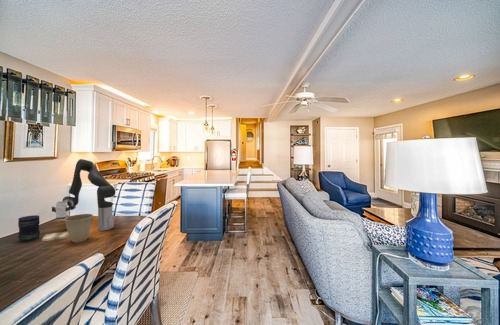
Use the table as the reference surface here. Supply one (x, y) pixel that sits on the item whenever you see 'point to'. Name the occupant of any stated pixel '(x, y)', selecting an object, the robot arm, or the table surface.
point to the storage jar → (28, 228)
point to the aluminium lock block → (61, 210)
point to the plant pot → (79, 226)
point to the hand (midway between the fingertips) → (60, 210)
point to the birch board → (55, 236)
